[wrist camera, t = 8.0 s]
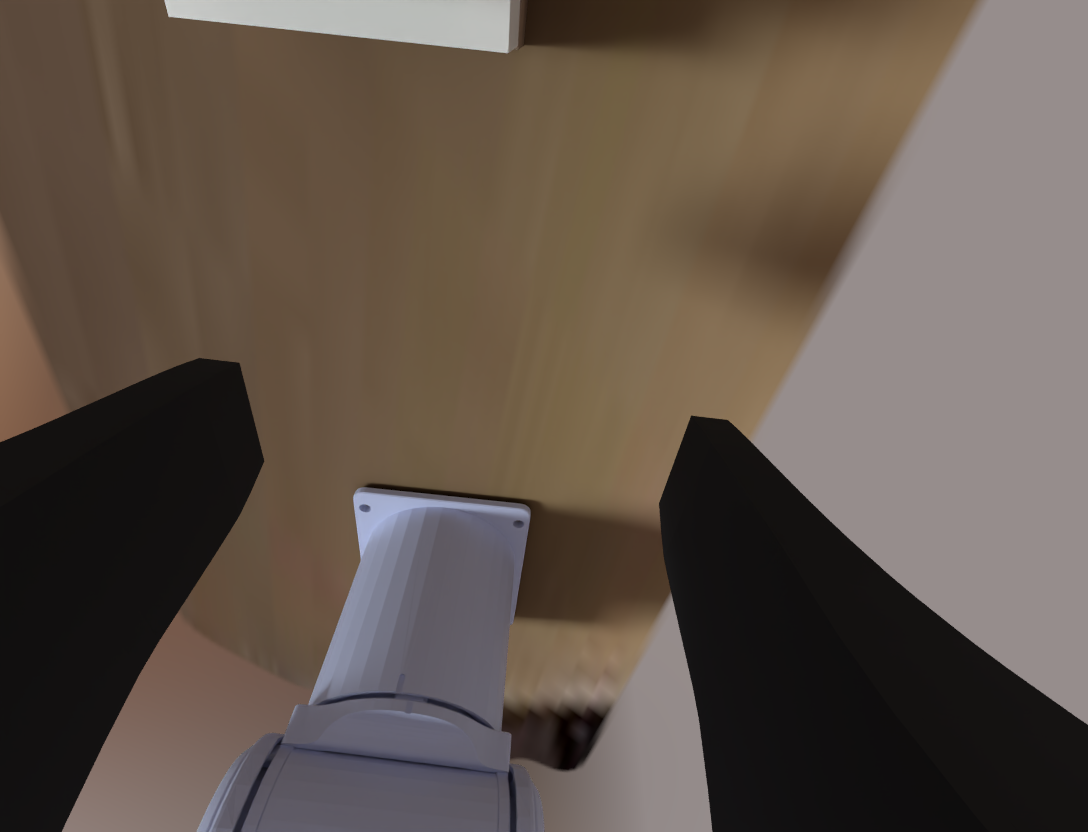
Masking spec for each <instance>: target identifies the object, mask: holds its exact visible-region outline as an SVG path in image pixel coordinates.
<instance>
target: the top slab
mask: <svg viewBox="0 0 1088 832" xmlns="http://www.w3.org/2000/svg"><path fill="white" fill-rule="evenodd" d="M165 4H166V8H167V12H168V15H169V17H177V18H187V19H196V20H205V21H214V22H224V23H233V24H242V25H252V26H261V27H270V28H279V29H289V30H298V31H307V32H316V33H326V34H335V35H344V36H354V37H363V38H372V39H381V40H391V41H400V42H409V43H419V44H428V45H437V46H446V47H456V48H465V49H474V50H483V51H493V52H502V53H509V52H511V51H512V50H513V49H515V48H516V47H517V46H518V34H519V13H520V0H165Z"/></svg>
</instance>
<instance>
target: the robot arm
mask: <svg viewBox="0 0 1088 832" xmlns="http://www.w3.org/2000/svg"><path fill="white" fill-rule="evenodd" d="M263 463H264V458H263V454H262V450H261V446H260V442H259V438H258V434H257V430H256V427H255V423H254V419H253V415H252V411H251V407H250V403H249V399H248V395H247V391H246V387H245V383H244V379H243V375H242V371H241V367H240V363H236V362H228V361H219V360H211V359H202V358H198V359H195V360H193V361H190V362H187V363H184V364H181V365H179V366H176V367H174V368H171V369H169V370H166V371H164V372H161V373H159V374H157V375H154V376H152V377H150V378H147V379H145V380H143V381H140V382H138V383H136V384H134V385H131V386H129V387H127V388H125V389H122V390H120V391H118V392H116V393H113V394H111V395H109V396H107V397H104V398H102V399H100V400H98V401H95V402H93V403H91V404H89V405H86V406H84V407H82V408H80V409H77V410H75V411H73V412H70V413H68V414H66V415H64V416H61V417H59V418H57V419H55V420H53V421H50V422H48V423H46V424H43V425H41V426H39V427H37V428H34V429H32V430H29V431H27V432H24V433H22V434H19V435H17V436H15V437H12V438H10V439H7V440H5V441H2V442H0V832H62V830H63V827H64V825H65V823H66V821H67V819H68V817H69V815H70V813H71V811H72V808H73V806H74V804H75V802H76V800H77V798H78V796H79V794H80V792H81V790H82V788H83V786H84V784H85V781H86V779H87V777H88V775H89V773H90V771H91V769H92V767H93V765H94V762H95V761H96V759H97V757H98V754H99V752H100V750H101V748H102V746H103V744H104V742H105V740H106V738H107V736H108V734H109V732H110V730H111V729H112V727H113V725H114V723H115V720H116V719H117V717H118V715H119V713H120V711H121V709H122V707H123V705H124V703H125V701H126V699H127V697H128V695H129V693H130V692H131V690H132V688H133V686H134V684H135V682H136V680H137V678H138V676H139V674H140V672H141V671H142V669H143V667H144V666H145V664H146V662H147V661H148V659H149V657H150V655H151V654H152V652H153V650H154V649H155V647H156V645H157V644H158V642H159V640H160V639H161V637H162V636H163V634H164V633H165V631H166V629H167V628H168V627H169V625H170V623H171V622H172V620H173V619H174V617H175V616H176V614H177V613H178V611H179V610H180V608H181V606H182V605H183V603H184V602H185V600H186V599H187V597H188V596H189V594H190V593H191V591H192V589H193V588H194V586H195V585H196V583H197V582H198V580H199V579H200V577H201V576H202V574H203V572H204V571H205V569H206V568H207V566H208V565H209V563H210V562H211V560H212V559H213V557H214V555H215V554H216V552H217V551H218V549H219V547H220V546H221V544H222V543H223V541H224V540H225V538H226V536H227V535H228V533H229V532H230V530H231V529H232V527H233V525H234V524H235V522H236V520H237V519H238V517H239V515H240V514H241V511H242V509H243V507H244V505H245V503H246V501H247V499H248V497H249V495H250V493H251V491H252V488H253V486H254V484H255V481H256V479H257V477H258V474H259V472H260V470H261V467H262V465H263ZM353 500H354V508H355V516H356V524H357V532H358V540H359V548H360V556H361V562H360V564H359V567H358V570H357V573H356V575H355V578H354V581H353V584H352V586H351V589H350V592H349V595H348V597H347V600H346V603H345V605H344V608H343V611H342V614H341V616H340V619H339V622H338V625H337V627H336V630H335V633H334V636H333V638H332V641H331V644H330V646H329V649H328V652H327V655H326V657H325V660H324V663H323V666H322V668H321V671H320V674H319V676H318V679H317V682H316V685H315V687H314V690H313V693H312V696H311V699H310V702H309V704H308V705H304V704H298V705H296V706H295V709H294V711H293V714H292V716H291V719H290V721H289V724H288V727H287V729H286V732H285V734H277V733H269V734H265V735H264V736H263V737H262V738H260V739H259V740H258V741H257V742H256V743H255V744H254V745H253V746H251V747H250V748H249V749H247V750H246V751H244V752H243V753H242V754H241V755H240V756H239V757H238V758H237V759H236V760H235V762H234V763H233V764H232V766H231V767H230V768H229V770H228V771H227V773H226V775H225V776H224V778H223V780H222V782H221V783H220V785H219V787H218V788H217V790H216V792H215V794H214V796H213V798H212V800H211V802H210V804H209V806H208V808H207V810H206V812H205V814H204V817H203V819H202V821H201V823H200V825H199V828H198V830H197V832H544V817H543V809H542V803H541V798H540V795H539V792H538V790H537V788H536V787H535V785H534V784H533V782H532V780H531V778H530V775H529V773H528V771H527V770H526V768H525V767H523V766H521V765H517V764H510V763H509V762H510V747H511V734H510V733H508V732H502V731H501V726H502V714H503V702H504V689H505V677H506V665H507V653H508V640H509V628H510V625H511V624H512V623H513V621H514V615H515V609H516V603H517V597H518V591H519V584H520V578H521V572H522V566H523V560H524V554H525V548H526V541H527V535H528V529H529V523H530V516H531V511H530V508H529V507H528V506H526V505H524V504H520V503H510V502H501V501H491V500H482V499H472V498H463V497H453V496H444V495H434V494H425V493H415V492H406V491H396V490H387V489H377V488H368V487H361V488H359V489H357V490H356V492H355V494H354V498H353ZM364 504H365V505H364ZM366 505H368V506H366ZM659 508H660V521H661V534H662V544H663V553H664V560H665V565H666V570H667V575H668V579H669V584H670V588H671V593H672V597H673V602H674V606H675V611H676V615H677V619H678V624H679V628H680V633H681V637H682V641H683V646H684V650H685V655H686V659H687V663H688V668H689V672H690V677H691V681H692V685H693V690H694V696H695V701H696V706H697V711H698V717H699V723H700V731H701V739H702V746H703V753H704V762H705V769H706V778H707V785H708V794H709V802H710V813H711V821H712V831H713V832H1088V725H1087V724H1086V723H1084V722H1083V721H1081V720H1080V719H1078V718H1077V717H1075V716H1074V715H1073V714H1071V713H1070V712H1068V711H1067V710H1066V709H1064V708H1063V707H1061V706H1060V705H1058V704H1057V703H1056V702H1054V701H1053V700H1051V699H1050V698H1049V697H1047V696H1046V695H1044V694H1043V693H1041V692H1040V691H1039V690H1037V689H1036V688H1035V687H1033V686H1031V685H1030V684H1029V683H1027V682H1026V681H1024V680H1023V679H1022V678H1020V677H1019V676H1018V675H1016V674H1015V673H1013V672H1012V671H1011V670H1009V669H1008V668H1006V667H1005V666H1004V665H1002V664H1001V663H1000V662H998V661H997V660H995V659H994V658H993V657H992V656H990V655H989V654H987V653H986V652H985V651H984V650H982V649H981V648H979V647H978V646H977V645H975V644H974V643H973V642H971V641H970V640H969V639H968V638H966V637H965V636H964V635H963V634H961V633H960V632H959V631H957V630H956V629H955V628H954V627H952V626H951V625H950V624H949V623H947V622H946V621H945V620H944V619H942V618H941V617H940V616H939V615H937V614H936V613H935V612H933V611H932V610H931V609H930V608H929V607H927V606H926V605H925V604H924V603H922V602H921V601H920V600H918V599H917V598H916V597H915V596H914V595H912V594H911V593H910V592H909V591H908V590H906V589H905V588H904V587H903V586H902V585H901V584H899V583H898V582H897V581H896V580H895V579H893V578H892V577H891V576H890V575H889V574H888V573H886V572H885V571H884V570H883V569H882V568H881V567H880V566H879V565H878V564H876V563H875V562H874V561H873V560H872V559H871V558H870V557H868V556H867V555H866V554H865V553H864V552H863V551H862V550H861V549H860V548H858V547H857V546H856V545H855V544H854V543H853V542H852V541H851V540H850V539H849V538H847V537H846V536H845V535H844V534H843V533H842V532H841V531H840V530H839V529H838V528H837V527H836V526H835V525H834V524H833V523H832V522H830V521H829V520H828V519H827V518H826V517H825V516H824V515H823V514H822V513H821V512H820V511H819V510H818V509H817V508H816V507H815V506H814V505H813V504H812V503H811V502H810V501H809V500H808V499H807V498H806V497H805V496H804V495H803V494H802V493H800V491H799V490H798V489H797V488H796V487H795V486H794V485H793V484H792V483H791V482H790V481H789V480H788V479H787V478H786V477H785V476H784V475H783V474H782V473H781V472H780V471H779V470H778V469H777V468H776V467H775V466H774V465H773V464H772V463H771V462H770V461H769V460H768V459H767V458H766V457H765V456H764V455H763V454H762V453H761V452H760V451H759V450H758V449H757V448H756V447H755V446H754V445H753V444H752V443H751V442H750V441H749V440H748V439H747V438H746V437H745V436H744V435H743V434H742V433H741V432H740V431H739V430H738V429H737V428H736V427H735V426H734V425H733V424H732V423H730V422H729V421H728V420H723V419H714V418H706V417H697V416H691V418H690V421H689V423H688V426H687V429H686V431H685V434H684V437H683V440H682V442H681V445H680V448H679V451H678V453H677V456H676V459H675V461H674V464H673V467H672V470H671V472H670V475H669V478H668V481H667V483H666V486H665V489H664V491H663V494H662V497H661V500H660V502H659ZM517 520H520V522H518V521H517Z"/></svg>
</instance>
